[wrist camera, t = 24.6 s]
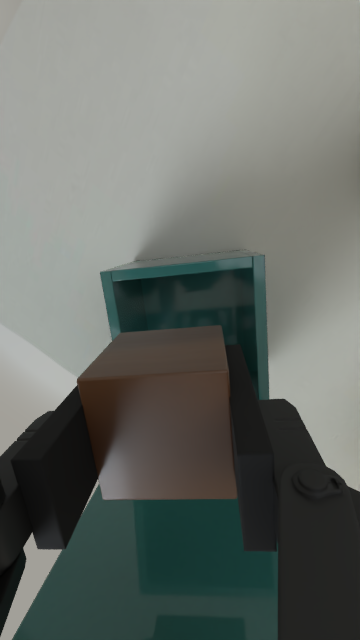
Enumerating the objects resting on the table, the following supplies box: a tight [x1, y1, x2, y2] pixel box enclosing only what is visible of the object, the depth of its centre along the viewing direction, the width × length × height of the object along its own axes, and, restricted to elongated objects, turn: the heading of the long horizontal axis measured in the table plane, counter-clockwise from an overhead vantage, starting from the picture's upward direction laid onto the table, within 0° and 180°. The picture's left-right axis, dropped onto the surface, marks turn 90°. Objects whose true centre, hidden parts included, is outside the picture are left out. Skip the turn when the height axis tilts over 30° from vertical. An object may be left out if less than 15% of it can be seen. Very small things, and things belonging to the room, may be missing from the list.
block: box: [77, 325, 238, 500], centre depth 11 cm, size 4×4×4 cm
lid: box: [12, 485, 278, 640], centre depth 17 cm, size 14×12×8 cm
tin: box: [100, 250, 269, 400], centre depth 27 cm, size 14×12×10 cm
